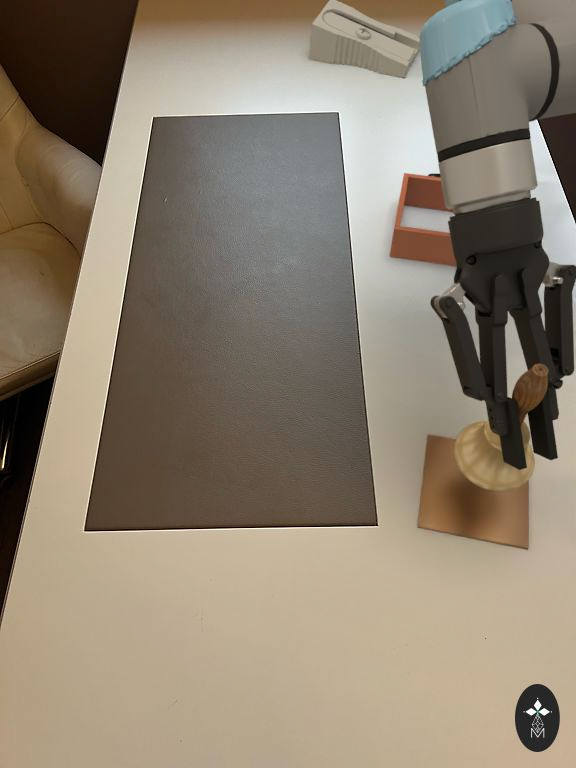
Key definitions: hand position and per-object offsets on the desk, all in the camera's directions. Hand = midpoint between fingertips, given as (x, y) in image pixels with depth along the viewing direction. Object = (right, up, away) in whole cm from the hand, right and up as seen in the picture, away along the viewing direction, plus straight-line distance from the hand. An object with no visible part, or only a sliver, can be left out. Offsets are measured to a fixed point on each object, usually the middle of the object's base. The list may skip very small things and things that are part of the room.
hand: (530, 459), depth 58 cm
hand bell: (-1, -1, +8) cm, 8 cm away
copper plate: (-1, -5, +14) cm, 15 cm away
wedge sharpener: (-7, +73, +68) cm, 100 cm away
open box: (0, +30, +38) cm, 49 cm away
